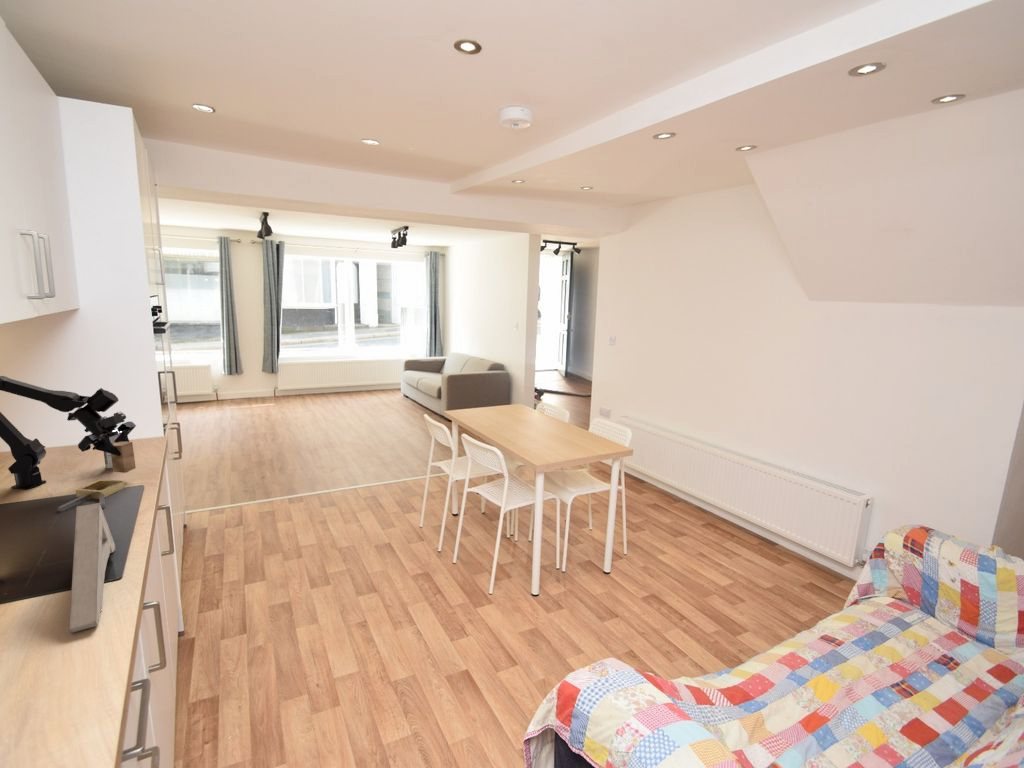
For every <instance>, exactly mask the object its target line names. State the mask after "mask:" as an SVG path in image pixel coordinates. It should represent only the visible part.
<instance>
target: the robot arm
mask: <svg viewBox="0 0 1024 768" xmlns="http://www.w3.org/2000/svg"><path fill="white" fill-rule="evenodd" d="M0 391H1V392H5V393H8V394H9V393H10V394H13V395H16V396H20V397H24V398H27V399H31V400H34V401H38V402H42V403H43V404H46V405H47V406H48V407H50V408H52V409H54V410H56V411H59V412H62V413H68V416H67V421H69V422H70V421H76V420H77V421H78V422H79V423H80V424H81V425H82V426H83V427H84V428H85V429H84V432H85V433H88V432H90V434H88V435H85V436H84V437H83V438H82V439H81V440H80V441H79V443H78V444H77V448H78V449H79V450H80V451H81V452H86V451H89V450H90V449H91V447H92V446H93V448H92V450H93V451H95V450H97V451H101V452H103V453H104V452H107V453H111V454H114V455H117V456H120V455H121V453H120V452H119V450H118V449H117V448H116V447H115V446H114V445H113V444H112V443H111V442H110V439H109V438H110V437H114V438H115V441H114V442H116V443H117V442H120V441H126V442H130V440H129V437H128V435H129V434H131V432H132V431H133V430H134V429H135V428H136V427H137V425H136V424H135V423H134V421H126V422H125V420H126V419H127V416H126V414H125V413H124V412H123V411H121V410H120V411H119V410H118V411H117V412H114V413H113V415H111V416H109V417H108V416H102V415H101V414H100V412H101V413H105V412H107V411H108V410H109V409H110V408H111V407H112V406H114V405H115V404H116V403H118V402H119V398H118V396H117V395H116V394H115V393H113V392H110V391H109V390H106V389H103V388H102V387H101V388H98V389H97V390H96V392H95V393H94V394H93V395H91V396H86V395H80V394H78V393H76V392H72V391H65V390H54V389H53V390H52V389H47V388H44V387H41V386H37V385H34V384H30V383H28V382H23V381H20V380H16V379H14V378H10V377H8V376H5V375H0ZM74 409H75V410H74ZM73 410H74V411H73ZM72 411H73V412H72ZM118 424H119V425H118ZM115 428H117V429H116V430H115ZM0 438H1V440H3V442H4V443H6V445H8V447H9V448H10V453H11V456H12V457H13V459H14V462H13V464H11V465H10V466H9V467H8V468H7V470H8V471H9V473H10V474H12V475H13V476H14V480H15V481H14V483H15V485H12V486H11V487H10V488H11V489H20V490H21V489H22V490H30V489H32V488H35V487H37V486H41V485H42V484H46V483H47V480H43V479H42V474H41V471H40V467H39V466H38V465H39V464H41V461H42V460H43V459H44V458H46V456H47V455H46V454H47V450H46V445H43V444H42V443H41V441H40V440H39V439H38V438H34V439H33V440H32V439H30V438H27V437H25V435H23V434H22V432H21V431H19V429H18V428H17V427H16V426H15V425H14V424H13V423H12V422H11V421H10V420H9V419H8V418H7V417H6V416H5V415H4V414H3V413H2V412H1V411H0ZM91 445H92V446H91Z"/></svg>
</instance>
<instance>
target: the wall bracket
mask: <svg viewBox="0 0 1024 768" xmlns="http://www.w3.org/2000/svg"><path fill="white" fill-rule="evenodd" d="M75 507H76V511H75V521H74V522H75V526H74V527H75V528H74V542H73V544H74V545H73V559H72V576H71V579H72V580H71V596H70V613H69V632H70V633H71V634H73V633H76V632H80V631H83V630H86V629H90V628H94V627H99V621H100V620H99V618H100V619H101V611H100V610H101V609H102V610H103V601H104V600H103V599H104V586H105V576H106V570H107V564H108V560H109V557H110V554H112V553H115V552H116V544H115V542H114V538H113V536H112V533H111V530H110V527H109V524H108V522H107V519H106V516H105V514H104V511H103V508H101V505H100V502H96V503H89V504H84V505H76V506H75ZM114 551H115V552H114Z"/></svg>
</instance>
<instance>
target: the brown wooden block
mask: <svg viewBox="0 0 1024 768" xmlns="http://www.w3.org/2000/svg"><path fill="white" fill-rule="evenodd" d="M113 445H114V446H115V447H116V448H117V449H118V450H119V452H120V453H121V455H120V456H117V455H114V454H111V458H112V465H113V468H112V472H114V473H123V474H126V473H128V472H131V471H132V470H135V469H136V468H137V466H136V460H135V452H134V446H133V441H129V442H126V441H120V442H117V443H114V444H113Z"/></svg>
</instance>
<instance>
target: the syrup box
mask: <svg viewBox="0 0 1024 768" xmlns="http://www.w3.org/2000/svg"><path fill="white" fill-rule="evenodd" d="M117 428H118V427H116V428H115V430H116V429H117ZM109 439H110V442H111V443H112V444H114V443H116V442H114V441H115V438H114V437H110V438H109ZM103 457H104V465H105V469H113V465H112V458H111V453H107V452H104V451H103Z"/></svg>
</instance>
